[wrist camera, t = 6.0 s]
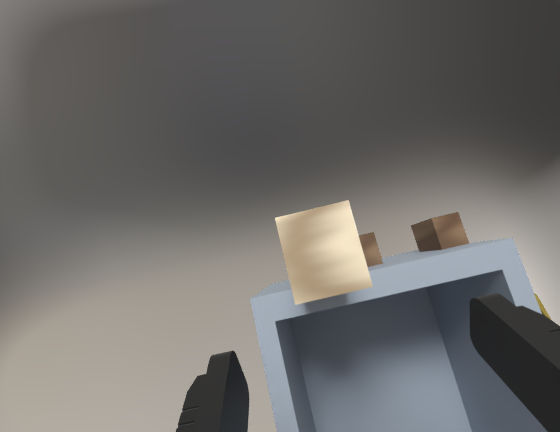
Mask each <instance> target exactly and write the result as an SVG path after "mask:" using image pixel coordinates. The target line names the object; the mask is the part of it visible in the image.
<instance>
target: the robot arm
mask: <svg viewBox="0 0 560 432" xmlns="http://www.w3.org/2000/svg"><path fill="white" fill-rule="evenodd" d="M470 338H471V341H472V343H473V346H474V347H475V349H476V351H477V352H478V354H479V355H480V356H481V357H482V358H483V359H484V360H485V362H486V363H487V364H488V365H489V366H490V367H491V368H492V369H493V371H494V372H495V373H496V374H497V375H498V376H499V377H500V378H501V380H502V381H503V382H504V383H505V384H506V385H507V386H508V387H509V389H510V390H511V391H512V392H513V393H514V394H515V395H516V396H517V398H518V399H519V400H520V401H521V402H522V403H523V404H524V405H525V407H526V408H527V409H528V410H529V411H530V412H531V413H532V414H533V416H534V417H535V418H536V419H537V420H538V421H539V422H540V423H541V425H542V426H543V427H544V428H545V429H546V430H547V431H548V432H560V326H559V325H557V324H556V323H554V322H553V321H552V320H550V319H549V318H548V317H546V316H545V315H543V314H540V313H538V312H536V311H534V310H531V309H529V308H527V307H524V306H515V305H514V304H513V303H511V302H510V301H509V300H507V299H506V298H505V297H504V296H502V295H500V294H498V293H494V294H489V295H485V296H480V297H476V298H472V299H471V300H470ZM182 410H183V412H182V413H181V416H180V419H179V423H178V428H177V429H176V432H247V430H248V414H249V413H248V412H249V391H248V385H247V382H246V379H245V376H244V374H243V371H242V369H241V366H240V363H239V361H238V358H237V356H236V353H235V352H234V351H229V352H225V353H220V354H216V355H212V356H211V357H210V361H209V364H208V369H207V373H206V374H204V375H200V376H197V378H196V379H195V381H194V382H193V384H192V386H191V387H190V389H189V390H188V392H187V395H186V398H185V402H184V405H183V409H182Z"/></svg>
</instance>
